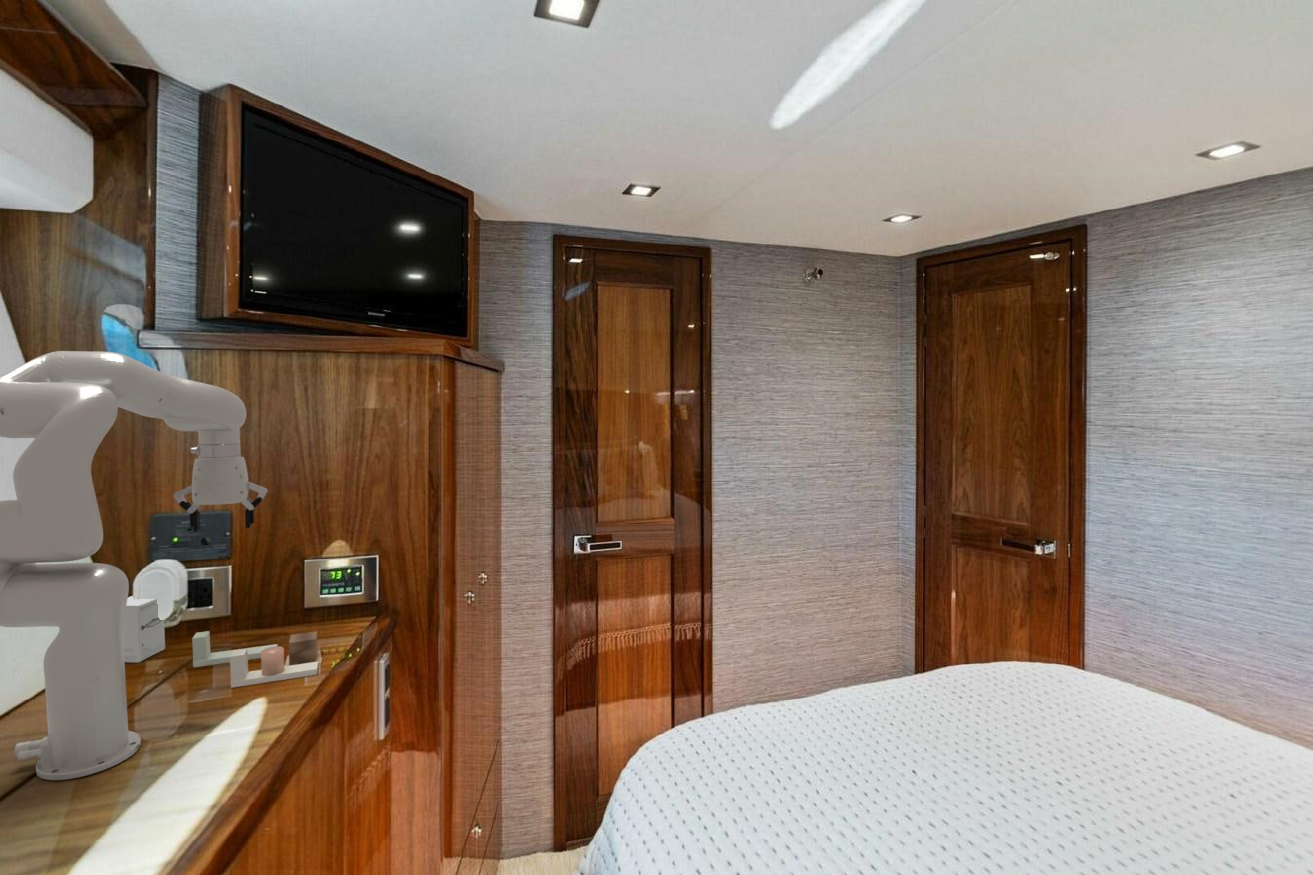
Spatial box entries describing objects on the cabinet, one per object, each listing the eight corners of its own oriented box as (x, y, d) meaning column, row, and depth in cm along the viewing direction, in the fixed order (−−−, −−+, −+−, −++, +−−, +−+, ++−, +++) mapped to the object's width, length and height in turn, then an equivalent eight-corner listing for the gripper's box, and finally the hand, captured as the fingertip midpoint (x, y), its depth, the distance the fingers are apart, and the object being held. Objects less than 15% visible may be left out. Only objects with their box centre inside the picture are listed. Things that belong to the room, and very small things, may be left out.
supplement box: (140, 663, 138) (137, 605, 137) (106, 662, 138) (103, 605, 138) (166, 649, 146) (164, 594, 145) (134, 648, 146) (132, 594, 145)
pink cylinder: (260, 677, 128) (259, 655, 128) (263, 669, 132) (262, 648, 131) (283, 673, 130) (282, 652, 129) (285, 666, 133) (284, 645, 133)
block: (289, 665, 136) (288, 642, 135) (291, 656, 140) (291, 634, 140) (316, 661, 138) (315, 639, 138) (317, 653, 142) (316, 631, 142)
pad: (283, 669, 135) (283, 668, 135) (287, 657, 141) (287, 655, 141) (321, 664, 137) (321, 662, 137) (323, 651, 144) (323, 650, 144)
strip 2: (230, 687, 126) (229, 657, 126) (234, 679, 130) (233, 649, 129) (316, 674, 132) (316, 645, 132) (318, 666, 136) (317, 638, 135)
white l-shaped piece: (193, 667, 135) (191, 638, 135) (197, 660, 139) (196, 632, 138) (275, 655, 141) (274, 628, 141) (277, 649, 145) (276, 622, 144)
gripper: (167, 454, 134) (170, 535, 135) (263, 452, 141) (266, 528, 142) (176, 451, 141) (180, 528, 142) (268, 449, 148) (270, 522, 149)
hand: (223, 528), depth 142 cm, fingers open, 9 cm apart
